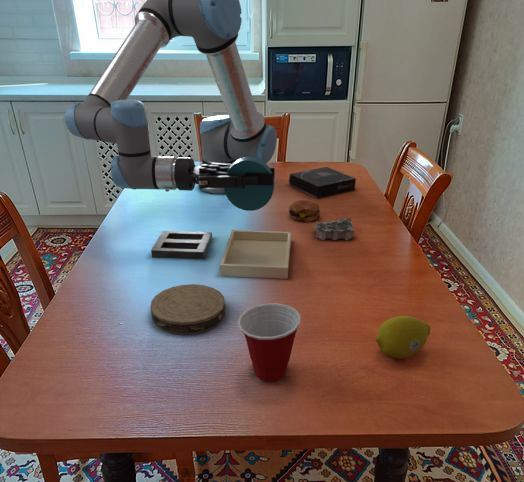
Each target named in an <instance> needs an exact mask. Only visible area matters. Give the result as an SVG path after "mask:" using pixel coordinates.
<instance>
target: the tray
mask: <svg viewBox="0 0 524 482" xmlns="http://www.w3.org/2000/svg"><path fill="white" fill-rule="evenodd" d="M291 245H292V231H274V230H273V231H272V230H271V231H270V230H269V231H268V230H245V229H244V230H238V229H232V230H231V232H230V235H229V237H228V241H227V243H226V246H225V249H224V252H223V255H222V257H221V261H220V263H219V273H220V274H219V275H220V277H233V278H234V277H235V278H237V277H238V278H259V279H260V278H261V279H283V280H284V279H285V280H286V279H288V278H289V267H290V257H291V256H290V255H291Z"/></svg>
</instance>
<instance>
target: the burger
mask: <svg viewBox="0 0 524 482" xmlns="http://www.w3.org/2000/svg"><path fill="white" fill-rule="evenodd" d="M288 212H289V216H291V218H293V219H294V220H297V221H299V222H300V221H303V222H307V223H309V222H314V221H316V220H318V218H319V217H320V214H321V209H320V206H319V204H318V203H317V202H316V201H314V200H311V199H306V198H298V199H295V200H293V201H292V202H291V203H290V204H289V206H288Z"/></svg>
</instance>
